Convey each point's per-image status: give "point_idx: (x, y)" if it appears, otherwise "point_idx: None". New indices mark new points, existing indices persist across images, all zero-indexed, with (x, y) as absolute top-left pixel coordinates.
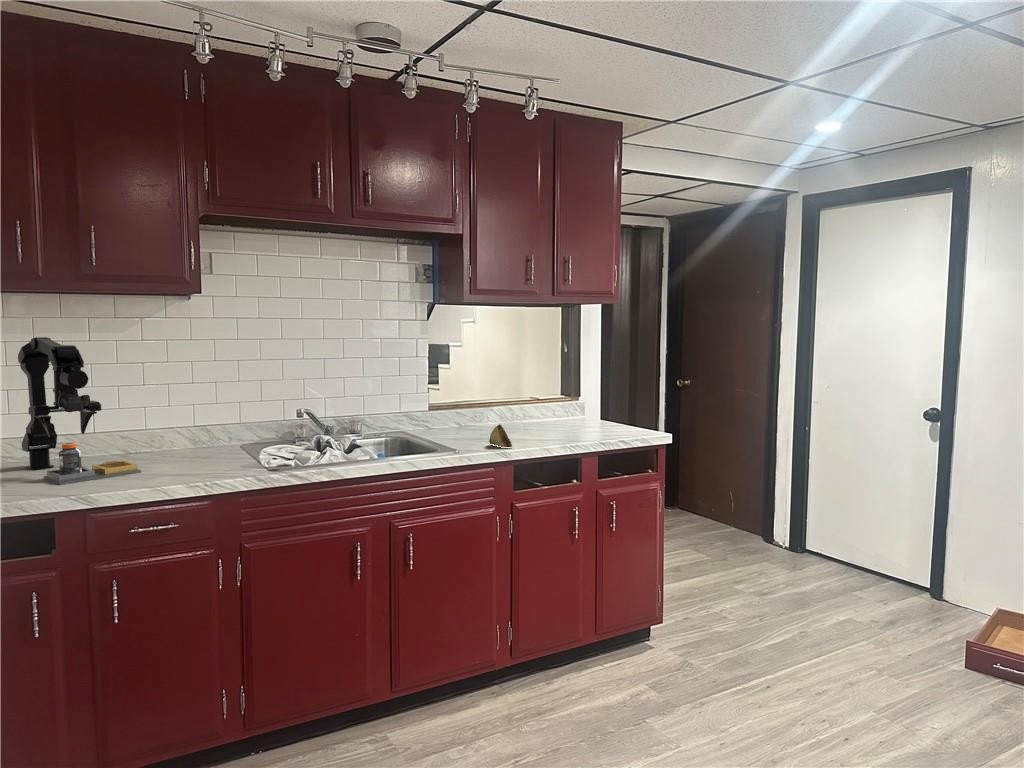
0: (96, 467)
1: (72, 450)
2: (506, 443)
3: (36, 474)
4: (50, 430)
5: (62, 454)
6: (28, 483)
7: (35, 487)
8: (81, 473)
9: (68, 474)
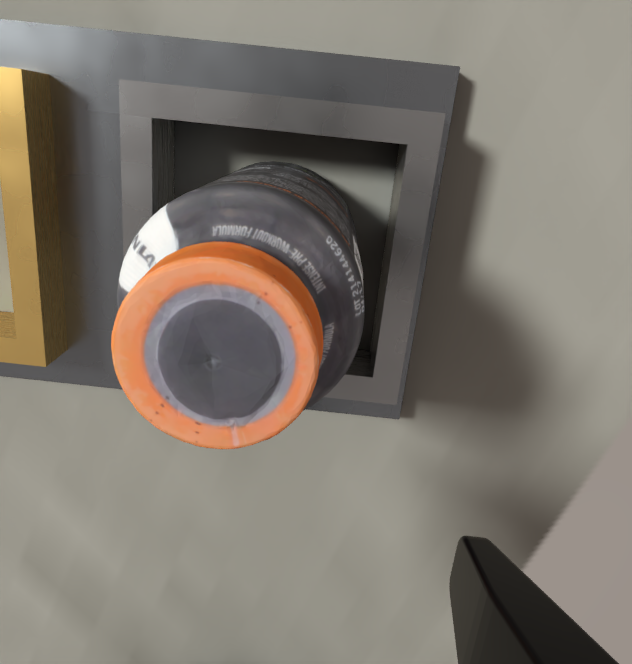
0: (43, 268)
1: (236, 233)
2: None
3: (349, 570)
4: (541, 637)
5: (355, 267)
6: (540, 345)
7: (606, 153)
8: (244, 94)
9: (360, 108)
